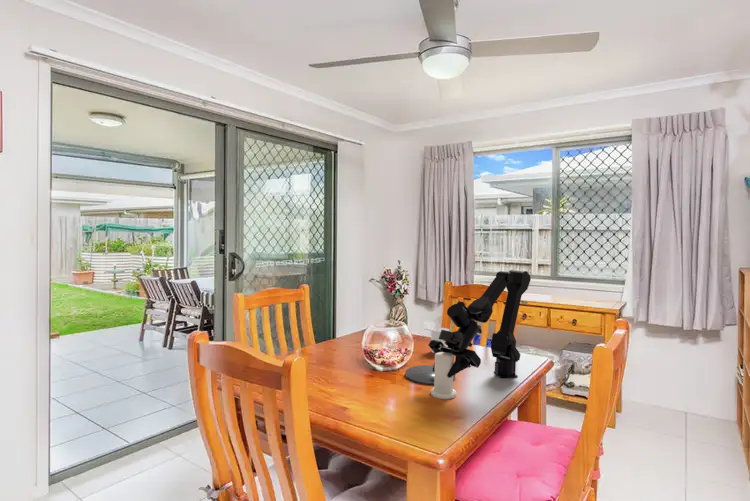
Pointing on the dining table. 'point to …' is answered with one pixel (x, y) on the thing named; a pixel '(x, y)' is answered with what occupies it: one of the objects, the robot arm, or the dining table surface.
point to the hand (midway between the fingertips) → (440, 374)
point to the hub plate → (422, 374)
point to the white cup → (437, 335)
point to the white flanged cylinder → (443, 376)
